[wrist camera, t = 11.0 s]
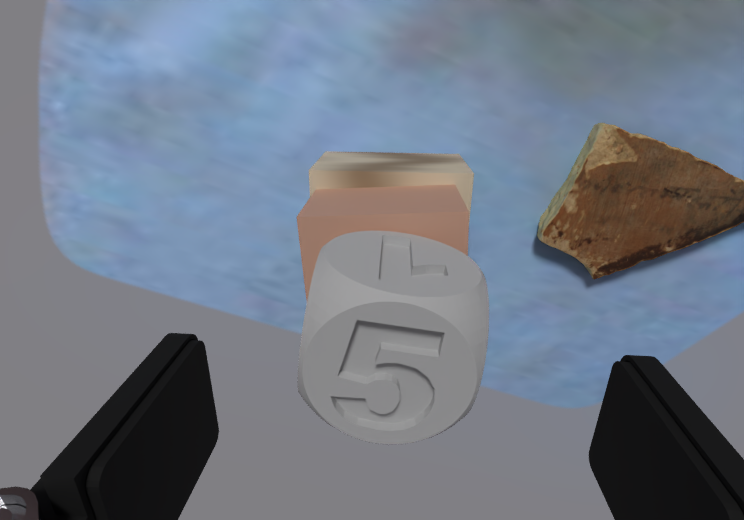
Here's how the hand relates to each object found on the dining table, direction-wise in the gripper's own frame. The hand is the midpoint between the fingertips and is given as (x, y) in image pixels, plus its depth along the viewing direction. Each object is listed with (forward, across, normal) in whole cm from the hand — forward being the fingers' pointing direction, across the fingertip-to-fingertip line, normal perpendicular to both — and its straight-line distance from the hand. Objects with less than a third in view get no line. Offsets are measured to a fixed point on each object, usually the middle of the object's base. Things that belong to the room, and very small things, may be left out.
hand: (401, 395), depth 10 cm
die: (+7, 0, +1) cm, 7 cm away
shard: (+16, -12, -2) cm, 21 cm away
